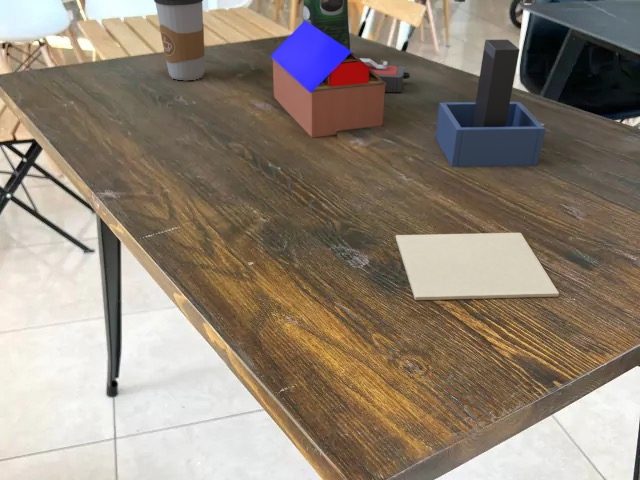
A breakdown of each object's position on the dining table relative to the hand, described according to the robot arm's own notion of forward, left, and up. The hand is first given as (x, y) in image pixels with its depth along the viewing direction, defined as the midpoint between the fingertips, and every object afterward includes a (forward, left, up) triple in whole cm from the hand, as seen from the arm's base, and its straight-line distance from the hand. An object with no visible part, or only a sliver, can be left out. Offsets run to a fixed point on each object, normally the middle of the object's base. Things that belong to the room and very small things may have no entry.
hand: (495, 0), depth 89 cm
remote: (+2, +11, -17) cm, 20 cm away
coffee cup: (+47, -27, -18) cm, 57 cm away
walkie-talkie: (+17, -22, -18) cm, 33 cm away
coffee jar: (+21, -38, -18) cm, 47 cm away
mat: (+11, +40, -18) cm, 45 cm away
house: (+23, -7, -18) cm, 30 cm away
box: (+2, +11, -18) cm, 21 cm away
